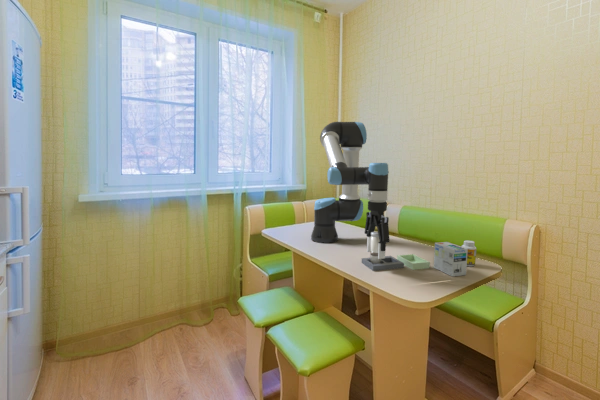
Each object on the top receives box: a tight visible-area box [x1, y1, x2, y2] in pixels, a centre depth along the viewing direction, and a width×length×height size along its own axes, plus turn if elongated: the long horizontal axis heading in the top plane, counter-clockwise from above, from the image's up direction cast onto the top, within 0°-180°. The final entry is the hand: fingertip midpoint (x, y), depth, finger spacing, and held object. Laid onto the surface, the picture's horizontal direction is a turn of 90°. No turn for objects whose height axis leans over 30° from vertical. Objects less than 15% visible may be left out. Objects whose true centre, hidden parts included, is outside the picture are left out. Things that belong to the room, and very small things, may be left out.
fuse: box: [369, 231, 381, 264], centre depth 122 cm, size 4×4×14 cm
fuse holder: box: [361, 255, 405, 272], centre depth 124 cm, size 10×14×2 cm
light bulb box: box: [433, 241, 468, 277], centre depth 118 cm, size 11×7×11 cm, turn 17°
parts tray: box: [396, 253, 431, 271], centre depth 125 cm, size 11×8×3 cm
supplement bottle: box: [461, 239, 477, 267], centre depth 125 cm, size 6×6×10 cm
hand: (375, 254), depth 123 cm, fingers open, 9 cm apart
